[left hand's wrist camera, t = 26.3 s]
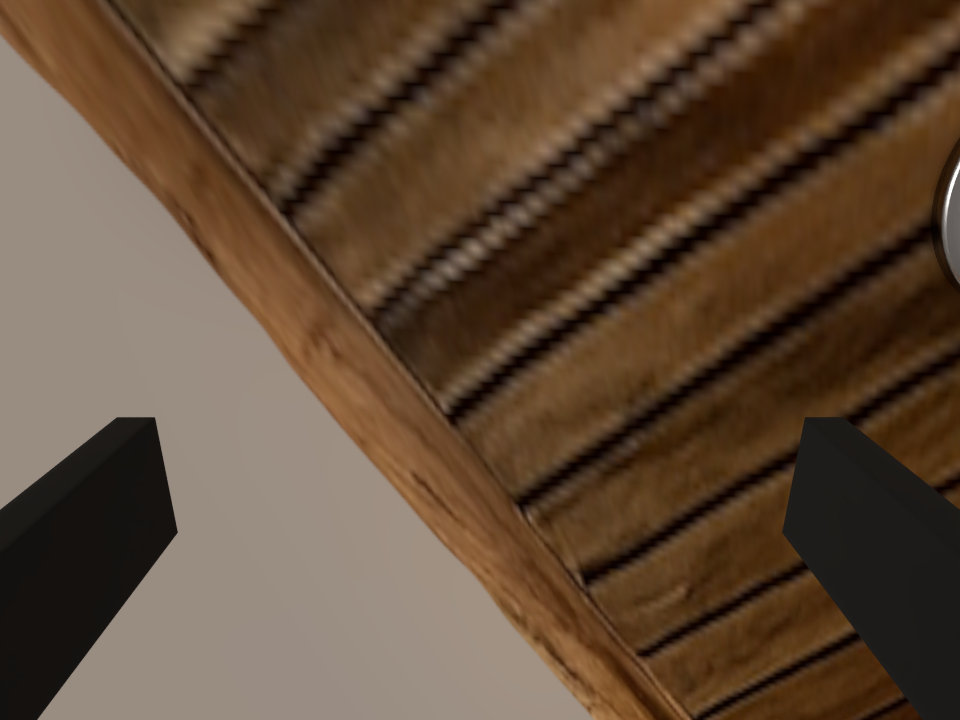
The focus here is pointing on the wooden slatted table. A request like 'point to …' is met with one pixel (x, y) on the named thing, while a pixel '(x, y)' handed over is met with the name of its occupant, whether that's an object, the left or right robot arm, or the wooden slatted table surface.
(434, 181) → the wooden slatted table surface
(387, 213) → the wooden slatted table surface
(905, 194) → the wooden slatted table surface
